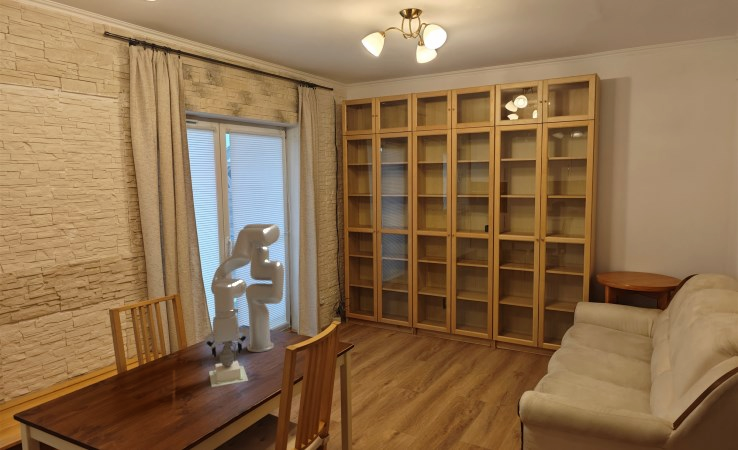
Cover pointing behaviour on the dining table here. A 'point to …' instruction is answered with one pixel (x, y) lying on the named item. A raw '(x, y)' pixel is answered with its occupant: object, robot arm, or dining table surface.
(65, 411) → the dining table surface
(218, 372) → the cream brick
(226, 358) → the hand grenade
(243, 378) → the base plate
